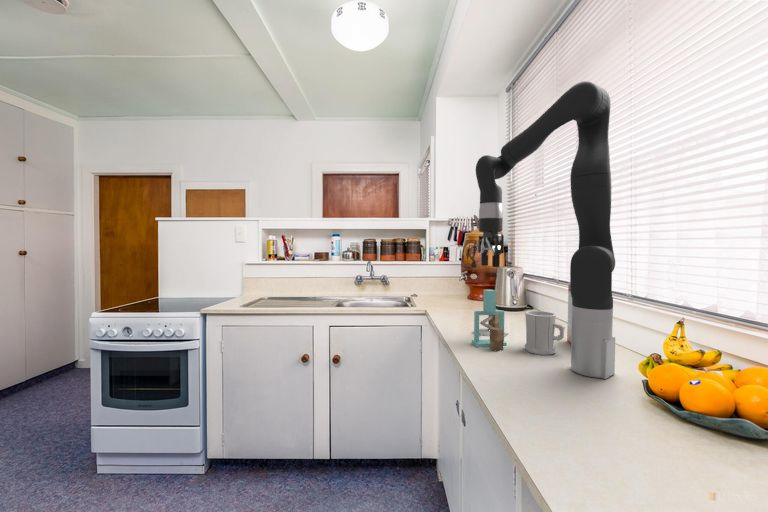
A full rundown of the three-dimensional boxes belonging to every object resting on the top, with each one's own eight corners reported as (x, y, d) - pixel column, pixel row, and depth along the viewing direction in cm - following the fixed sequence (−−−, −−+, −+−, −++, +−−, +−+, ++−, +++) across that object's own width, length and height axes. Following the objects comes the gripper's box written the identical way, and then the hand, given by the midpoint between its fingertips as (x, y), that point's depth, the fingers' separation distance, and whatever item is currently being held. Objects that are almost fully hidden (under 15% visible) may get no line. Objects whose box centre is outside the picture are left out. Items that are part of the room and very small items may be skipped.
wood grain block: (499, 330, 139) (499, 313, 138) (503, 352, 110) (504, 331, 109) (488, 329, 140) (488, 312, 139) (489, 350, 111) (489, 330, 111)
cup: (554, 347, 115) (555, 311, 114) (566, 356, 106) (566, 316, 105) (521, 346, 116) (521, 310, 115) (529, 355, 107) (530, 315, 106)
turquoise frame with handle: (506, 346, 116) (507, 290, 115) (477, 347, 115) (478, 291, 114) (499, 342, 121) (500, 289, 120) (471, 343, 119) (472, 289, 119)
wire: (495, 316, 137) (495, 314, 137) (498, 332, 112) (498, 330, 112) (480, 315, 139) (480, 313, 139) (480, 331, 113) (480, 328, 113)
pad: (503, 338, 126) (503, 337, 126) (471, 333, 133) (471, 332, 133) (508, 334, 132) (508, 333, 132) (477, 329, 139) (477, 329, 139)
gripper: (511, 215, 110) (511, 267, 110) (491, 219, 124) (491, 265, 124) (489, 215, 109) (488, 267, 109) (471, 219, 123) (471, 265, 123)
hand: (489, 266), depth 117 cm, fingers open, 8 cm apart
